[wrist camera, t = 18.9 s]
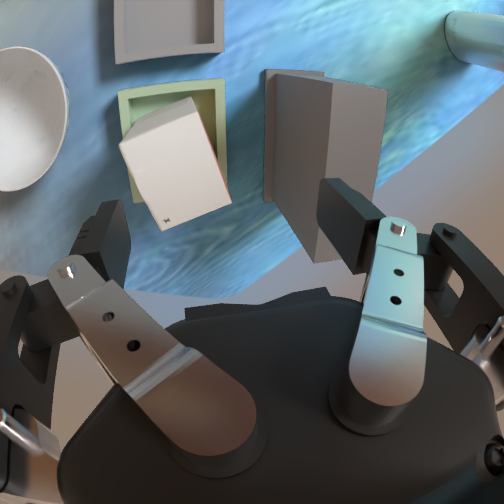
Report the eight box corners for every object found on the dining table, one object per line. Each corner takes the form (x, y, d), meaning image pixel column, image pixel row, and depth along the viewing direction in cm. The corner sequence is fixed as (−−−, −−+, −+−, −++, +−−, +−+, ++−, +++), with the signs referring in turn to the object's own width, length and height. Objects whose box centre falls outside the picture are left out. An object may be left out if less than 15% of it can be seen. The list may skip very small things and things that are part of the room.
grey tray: (220, -45, 20) (224, -54, 18) (220, 53, 28) (224, 51, 25) (120, -35, 18) (115, -43, 16) (120, 64, 26) (115, 64, 23)
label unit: (321, 72, 31) (398, 86, 19) (312, 195, 41) (366, 258, 29) (265, 69, 30) (320, 75, 18) (263, 199, 40) (303, 269, 28)
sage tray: (221, 77, 29) (224, 79, 27) (224, 182, 37) (227, 191, 35) (122, 89, 28) (117, 91, 25) (136, 193, 35) (133, 203, 33)
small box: (215, 156, 34) (234, 205, 24) (165, 177, 34) (160, 234, 24) (191, 93, 29) (198, 109, 19) (137, 116, 29) (115, 146, 19)
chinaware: (114, 86, 27) (97, 92, 21) (50, 187, 31) (26, 216, 25) (28, 27, 19) (-5, 24, 13) (-27, 131, 23) (-60, 151, 17)
